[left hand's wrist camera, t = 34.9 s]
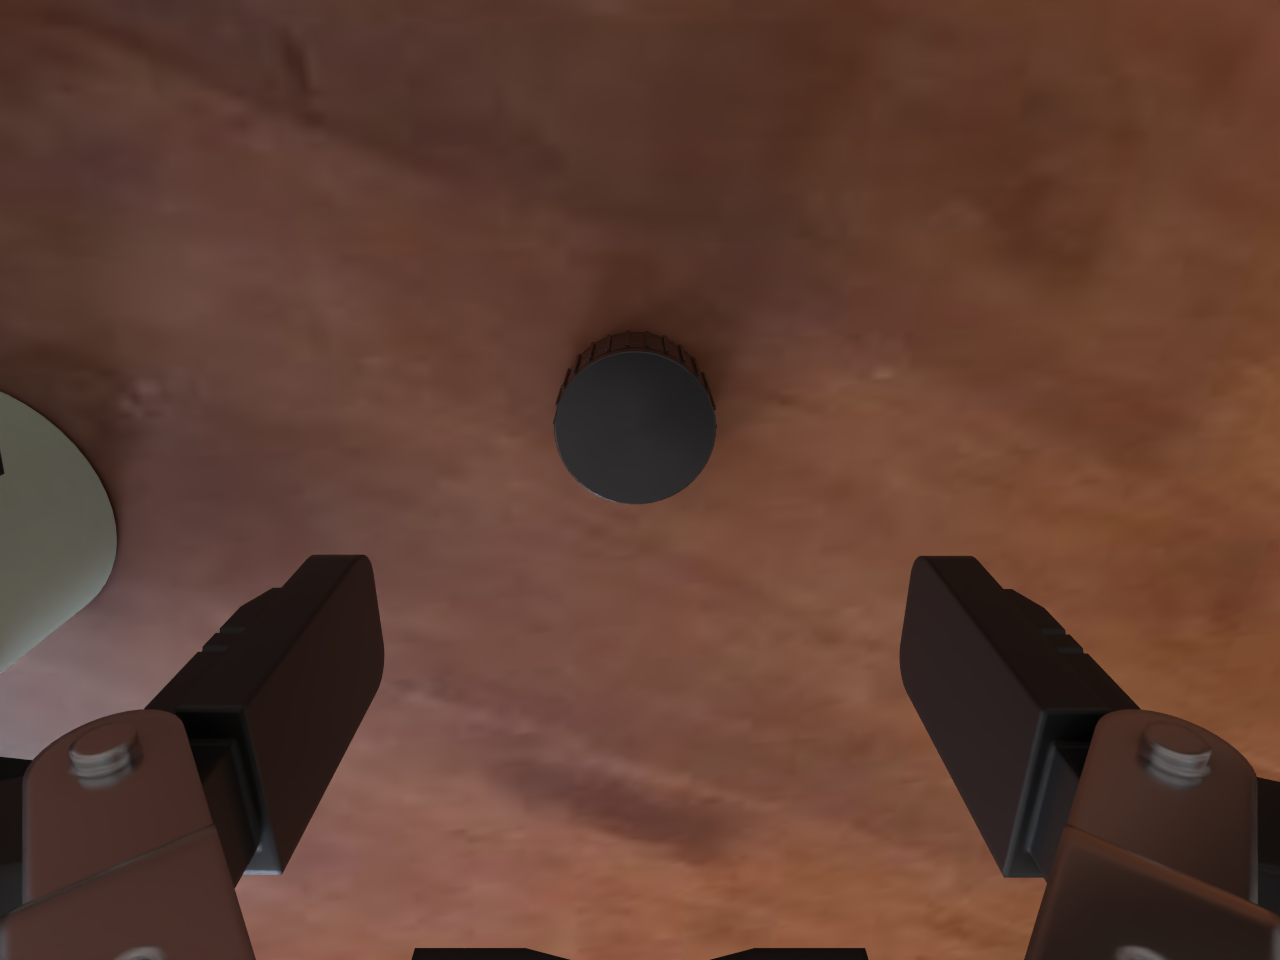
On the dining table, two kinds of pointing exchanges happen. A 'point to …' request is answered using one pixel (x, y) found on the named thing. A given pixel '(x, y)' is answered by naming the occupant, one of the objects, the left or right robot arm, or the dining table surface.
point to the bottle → (47, 530)
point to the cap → (635, 418)
